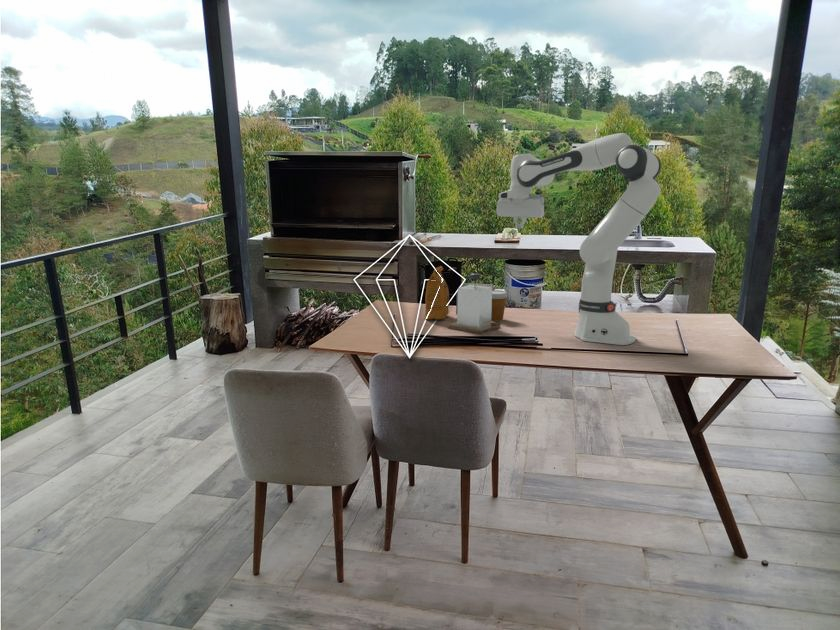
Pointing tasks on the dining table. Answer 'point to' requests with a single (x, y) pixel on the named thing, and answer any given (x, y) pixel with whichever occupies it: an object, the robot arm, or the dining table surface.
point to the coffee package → (442, 297)
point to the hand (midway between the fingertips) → (519, 228)
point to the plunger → (475, 278)
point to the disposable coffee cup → (498, 305)
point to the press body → (474, 310)
